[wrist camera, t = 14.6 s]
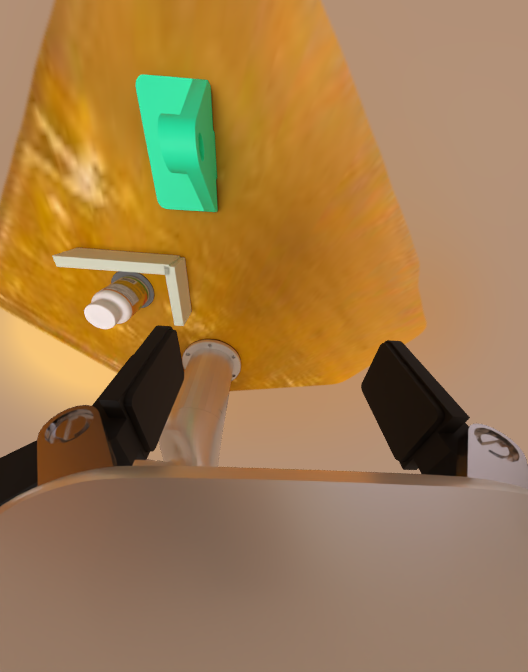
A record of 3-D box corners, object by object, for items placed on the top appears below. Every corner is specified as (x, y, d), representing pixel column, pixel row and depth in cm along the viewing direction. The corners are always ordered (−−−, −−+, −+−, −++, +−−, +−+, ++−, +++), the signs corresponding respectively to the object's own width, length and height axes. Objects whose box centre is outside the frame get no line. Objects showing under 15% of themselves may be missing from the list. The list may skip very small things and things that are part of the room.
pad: (157, 308, 40) (157, 309, 40) (119, 305, 40) (118, 306, 40) (149, 271, 36) (148, 272, 36) (106, 268, 36) (105, 268, 36)
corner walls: (191, 311, 41) (183, 325, 36) (100, 305, 40) (81, 319, 36) (184, 256, 35) (173, 265, 31) (77, 247, 34) (52, 255, 30)
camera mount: (144, 83, 24) (81, 28, 16) (212, 89, 25) (185, 37, 16) (166, 207, 31) (129, 214, 23) (219, 210, 31) (202, 218, 23)
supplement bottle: (133, 308, 40) (100, 338, 32) (110, 282, 37) (68, 308, 29) (156, 297, 39) (128, 325, 31) (135, 269, 36) (97, 293, 28)
